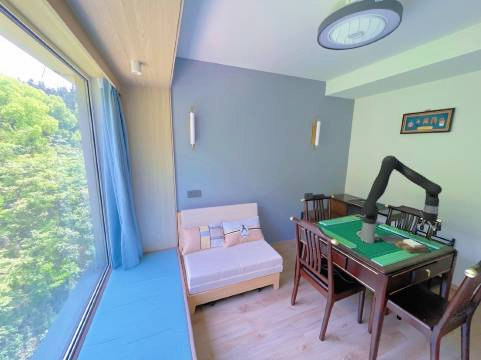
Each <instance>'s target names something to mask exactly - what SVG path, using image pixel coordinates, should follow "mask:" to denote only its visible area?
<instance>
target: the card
mask: <svg viewBox="0 0 481 360" xmlns="http://www.w3.org/2000/svg"><path fill="white" fill-rule="evenodd" d="M403 242H405V243H406V244H408V245H410V246H412V247H421V246H422V245H423V244H422V243H420V244H419V242H417V241H415V240H413V239H411V238H410V239H409V238H407V239H406V238H404V240H403Z"/></svg>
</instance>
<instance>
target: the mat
mask: <svg viewBox="0 0 481 360" xmlns="http://www.w3.org/2000/svg"><path fill="white" fill-rule="evenodd" d="M376 237H377V238H379V239H380V240H382V241H384V242H385V243H387V244H389V245H393V244H394V243H395V240H404V239H405V238H404V237H402V236H400V235H398V234H395V235H394V234H391V235H390V234H388V235H376Z"/></svg>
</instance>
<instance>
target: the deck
mask: <svg viewBox="0 0 481 360" xmlns="http://www.w3.org/2000/svg"><path fill="white" fill-rule="evenodd" d="M418 243H419V242H418ZM419 244H421V243H419ZM394 246H396V247H397V248H399V249H401V250H403V251H405V252H407V253H408V254H424V253H428V252H429V247H428V246H425V245H423V244H422V246H421V247H412V246H410V245H408V244H406V243H405V242H403V240H395V243H394Z"/></svg>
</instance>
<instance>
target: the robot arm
mask: <svg viewBox="0 0 481 360" xmlns="http://www.w3.org/2000/svg"><path fill="white" fill-rule="evenodd" d="M379 168H380V169H379V172H378V173H377V175H376V176H375V179H374V181H373V183H372V185H371V187H370V190H369V193H368V195H367V198H366V200H365V202H364V204H363V205H362V207H361V213H362V214H363V215H364V216H363V218H362V225H361V226H362V227H361V229H360V240H361V241H362V242H363V241H364V242H363V243H365V242H366V244H374V243H375V235H376V224H377V221H378V216H379V207H378V206H377V204H376V203H377V202H378V200H380V199H381V197H382V196H383V195H384V194H385V192H386V190H387V188H388V185H389V181H390V177H391V175H392V173H393V171H394V170H395V171H396V172H398V173H400V174H401V175H402V176H403V177H405V178H406V179H407V180H408V181H410V182H412V183H413V184H415V185H417V186H418V187H420V188H421V189H423V190H425V199H424V206H423V210H422V216H421V215H419V216H418V218H417V224H418V225H419V230H420V231H422V232H423V231H424V230H425V225H426V226H427V225H428V226H430V228H431V229H432V231H431V232H432V233H431V236H433V237H435V236H437V235H438V232H441V231H442V222H440V221H437V219H438V216H439V209H440V208H439V205H440V199H439V195H440V194H441V193H442V191H443V188H442V186H440V185H439V184H437V183H436V182H434V181H431V180H429V179H428V178H427V177H425V176H424V175H422V174H421V173H419V172H417V171H415V170H414V169H412V168H410V167H409V166H407V165H406V164H404V163H403V162H402V161H400V159H398V158H397V157H396V156H395V155H386V156H385V157H384V158H383V159H382V161H381V165H380V167H379Z"/></svg>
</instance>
